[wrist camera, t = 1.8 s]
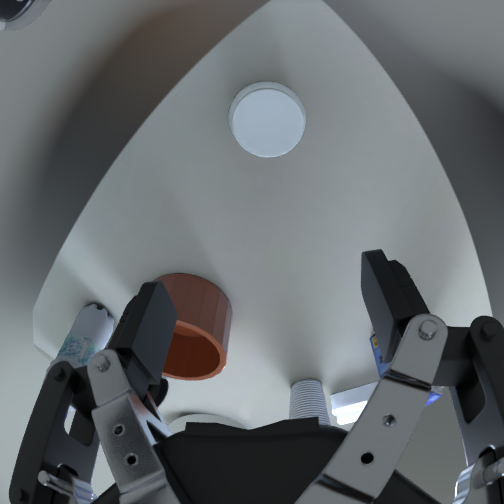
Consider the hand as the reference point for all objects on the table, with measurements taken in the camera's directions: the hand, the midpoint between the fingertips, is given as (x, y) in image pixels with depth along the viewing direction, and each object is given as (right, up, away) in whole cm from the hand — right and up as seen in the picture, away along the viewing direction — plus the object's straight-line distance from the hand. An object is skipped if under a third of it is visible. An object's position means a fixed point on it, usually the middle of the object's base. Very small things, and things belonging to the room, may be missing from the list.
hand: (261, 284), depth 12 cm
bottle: (-25, -9, +31) cm, 41 cm away
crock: (-9, -7, +29) cm, 31 cm away
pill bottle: (+1, +15, +14) cm, 21 cm away
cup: (+10, -24, +40) cm, 48 cm away
